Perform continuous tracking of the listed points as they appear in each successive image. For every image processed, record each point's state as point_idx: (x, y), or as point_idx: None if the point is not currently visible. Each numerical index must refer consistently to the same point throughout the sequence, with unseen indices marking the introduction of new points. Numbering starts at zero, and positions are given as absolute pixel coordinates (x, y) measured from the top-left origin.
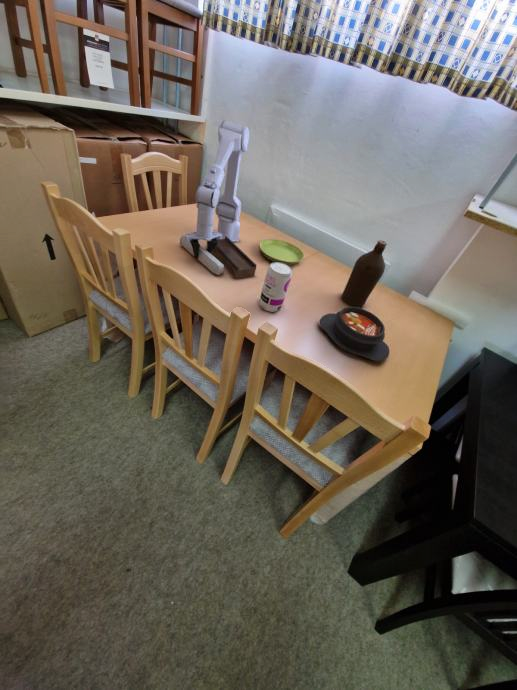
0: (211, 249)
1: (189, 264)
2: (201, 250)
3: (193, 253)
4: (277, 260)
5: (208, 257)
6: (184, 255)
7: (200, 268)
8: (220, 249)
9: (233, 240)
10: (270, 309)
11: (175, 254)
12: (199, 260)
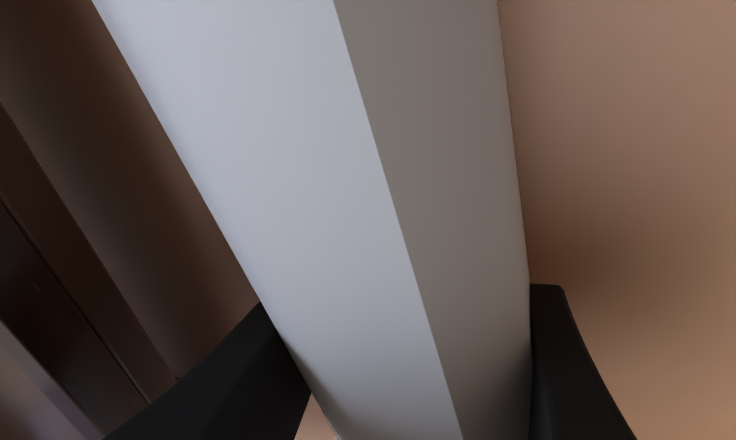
0: (215, 396)
1: (731, 207)
2: (449, 425)
3: None
4: None
5: (394, 153)
6: (620, 394)
7: (602, 32)
8: (22, 351)
9: None
10: None
11: (731, 435)
12: (524, 235)
